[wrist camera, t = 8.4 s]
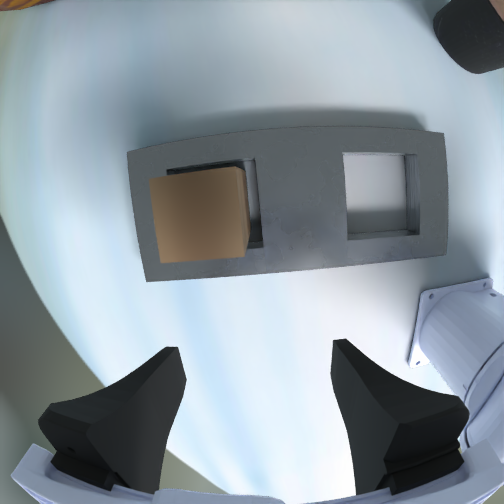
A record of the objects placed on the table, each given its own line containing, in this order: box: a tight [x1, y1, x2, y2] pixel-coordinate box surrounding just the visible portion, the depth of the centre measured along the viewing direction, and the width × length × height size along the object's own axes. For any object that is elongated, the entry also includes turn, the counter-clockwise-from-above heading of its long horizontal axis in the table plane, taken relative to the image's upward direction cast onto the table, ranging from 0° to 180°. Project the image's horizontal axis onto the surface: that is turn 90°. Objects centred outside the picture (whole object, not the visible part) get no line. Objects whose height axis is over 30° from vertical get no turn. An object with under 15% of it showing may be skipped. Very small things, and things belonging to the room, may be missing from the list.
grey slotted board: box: [127, 126, 448, 282], centre depth 18 cm, size 22×9×2 cm, turn 96°
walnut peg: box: [149, 166, 251, 263], centre depth 16 cm, size 4×4×7 cm
